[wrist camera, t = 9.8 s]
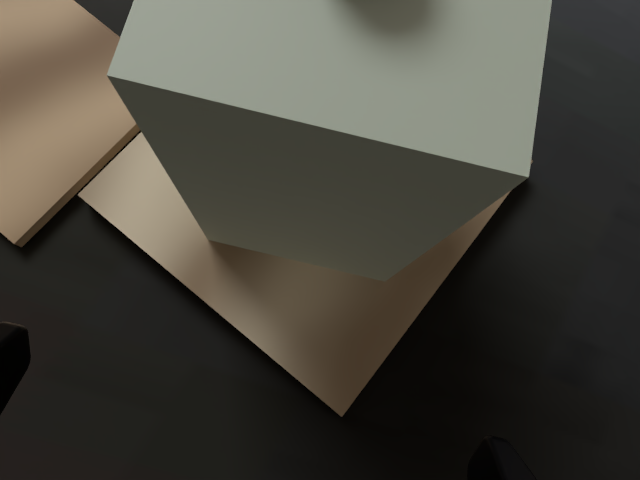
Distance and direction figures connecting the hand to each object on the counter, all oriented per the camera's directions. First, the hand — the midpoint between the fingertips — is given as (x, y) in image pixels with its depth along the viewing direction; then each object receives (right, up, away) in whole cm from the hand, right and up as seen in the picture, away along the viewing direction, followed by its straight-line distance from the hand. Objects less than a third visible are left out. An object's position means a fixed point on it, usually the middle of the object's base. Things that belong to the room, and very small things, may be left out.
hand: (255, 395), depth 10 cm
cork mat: (-11, +9, +11) cm, 18 cm away
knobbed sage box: (+1, +6, +10) cm, 12 cm away
